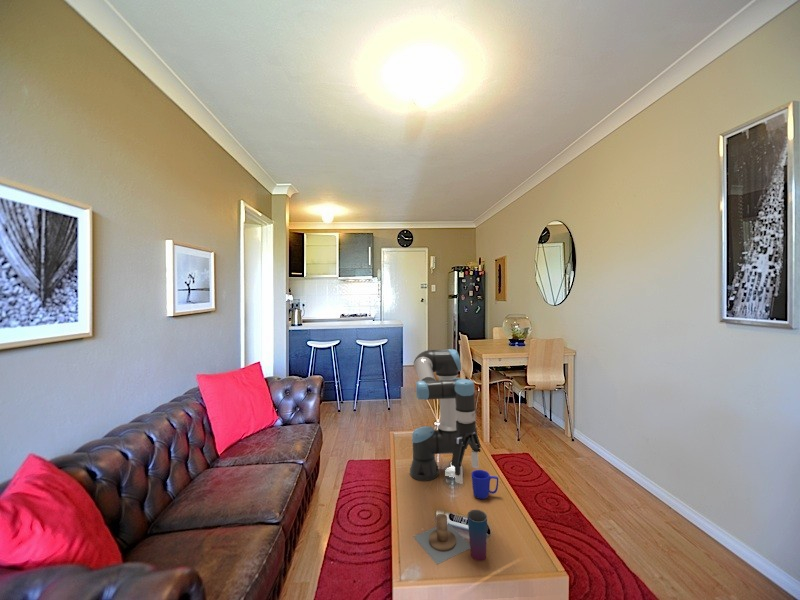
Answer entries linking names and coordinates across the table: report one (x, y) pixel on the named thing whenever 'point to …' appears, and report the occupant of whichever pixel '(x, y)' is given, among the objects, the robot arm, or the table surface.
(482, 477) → the mug
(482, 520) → the cup
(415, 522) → the table surface
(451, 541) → the lid
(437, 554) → the mat
